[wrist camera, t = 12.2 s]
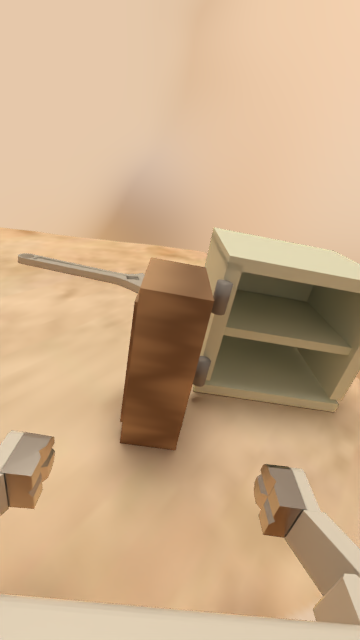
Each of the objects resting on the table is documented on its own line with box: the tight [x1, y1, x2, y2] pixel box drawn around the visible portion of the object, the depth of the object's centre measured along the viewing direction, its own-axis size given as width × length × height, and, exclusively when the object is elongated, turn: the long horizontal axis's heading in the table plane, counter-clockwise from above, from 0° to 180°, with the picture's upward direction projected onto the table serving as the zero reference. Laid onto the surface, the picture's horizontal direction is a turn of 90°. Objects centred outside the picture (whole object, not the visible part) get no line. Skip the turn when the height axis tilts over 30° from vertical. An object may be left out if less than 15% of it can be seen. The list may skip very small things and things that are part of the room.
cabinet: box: [193, 227, 360, 412], centre depth 29 cm, size 15×13×13 cm
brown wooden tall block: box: [120, 258, 214, 450], centre depth 20 cm, size 4×6×12 cm
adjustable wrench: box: [18, 254, 145, 293], centre depth 48 cm, size 25×6×2 cm, turn 78°
